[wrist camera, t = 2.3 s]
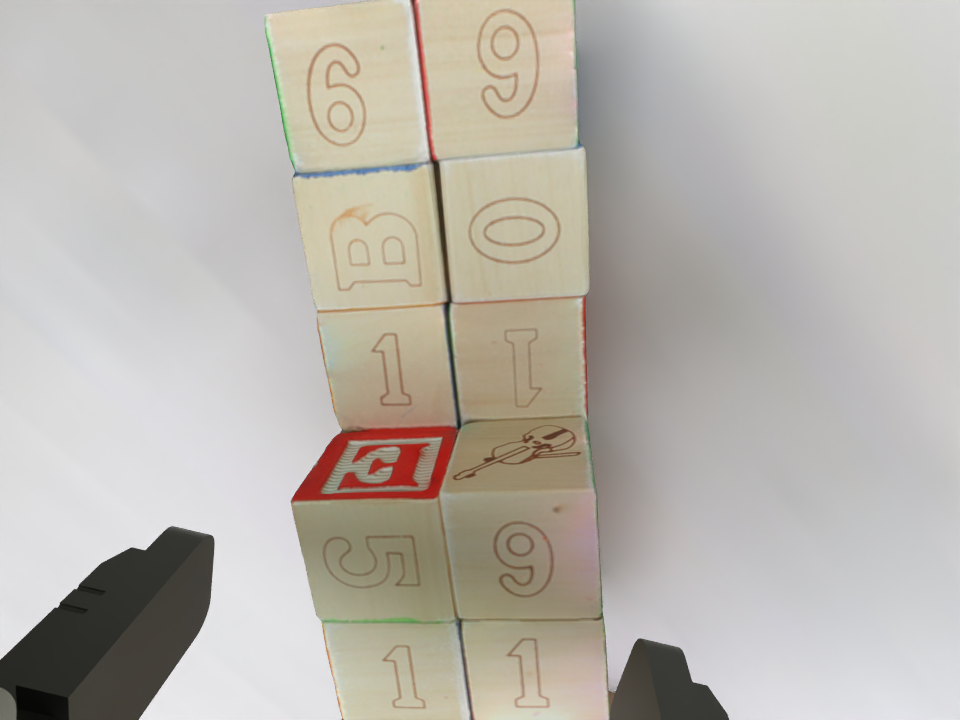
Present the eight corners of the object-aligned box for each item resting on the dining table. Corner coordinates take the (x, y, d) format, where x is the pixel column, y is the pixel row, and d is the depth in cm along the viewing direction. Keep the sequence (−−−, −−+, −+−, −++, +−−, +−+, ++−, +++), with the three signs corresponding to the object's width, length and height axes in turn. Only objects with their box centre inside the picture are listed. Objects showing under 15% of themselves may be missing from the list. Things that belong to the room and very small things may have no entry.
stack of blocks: (381, 62, 21) (167, -41, 9) (569, 43, 20) (600, -98, 8) (444, 587, 28) (369, 908, 16) (585, 588, 27) (614, 926, 15)
